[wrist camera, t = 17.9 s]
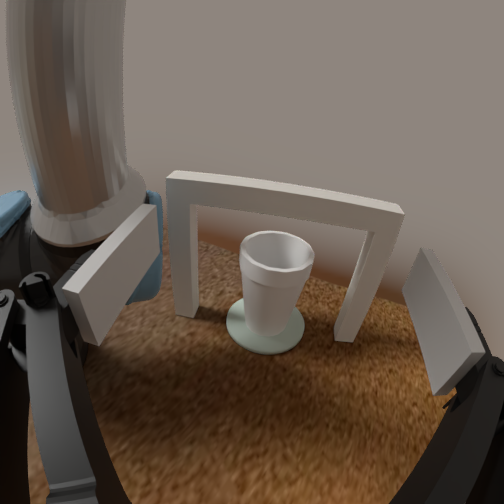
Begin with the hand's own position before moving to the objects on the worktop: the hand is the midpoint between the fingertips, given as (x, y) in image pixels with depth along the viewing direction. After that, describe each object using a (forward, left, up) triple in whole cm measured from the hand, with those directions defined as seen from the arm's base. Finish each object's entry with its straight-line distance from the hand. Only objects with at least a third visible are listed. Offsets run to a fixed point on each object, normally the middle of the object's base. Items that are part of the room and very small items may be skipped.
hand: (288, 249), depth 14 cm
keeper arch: (0, +20, -26) cm, 33 cm away
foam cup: (0, +20, -26) cm, 32 cm away
